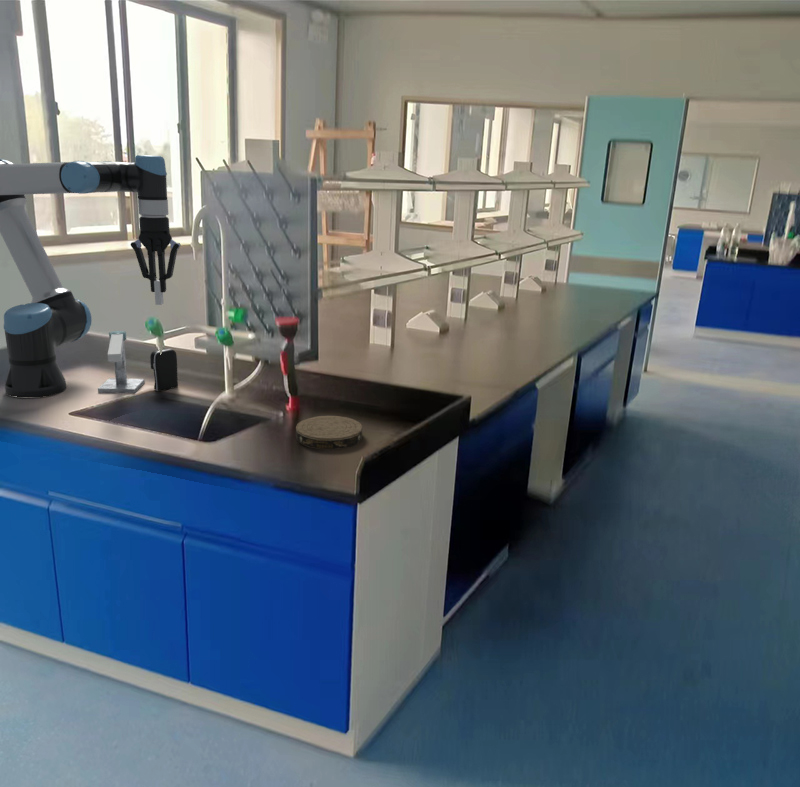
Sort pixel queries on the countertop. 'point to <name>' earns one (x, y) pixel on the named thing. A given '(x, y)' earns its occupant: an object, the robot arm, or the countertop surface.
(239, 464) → the countertop surface
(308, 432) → the grey round disc
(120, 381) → the post
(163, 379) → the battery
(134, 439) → the countertop surface
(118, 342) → the swing arm
